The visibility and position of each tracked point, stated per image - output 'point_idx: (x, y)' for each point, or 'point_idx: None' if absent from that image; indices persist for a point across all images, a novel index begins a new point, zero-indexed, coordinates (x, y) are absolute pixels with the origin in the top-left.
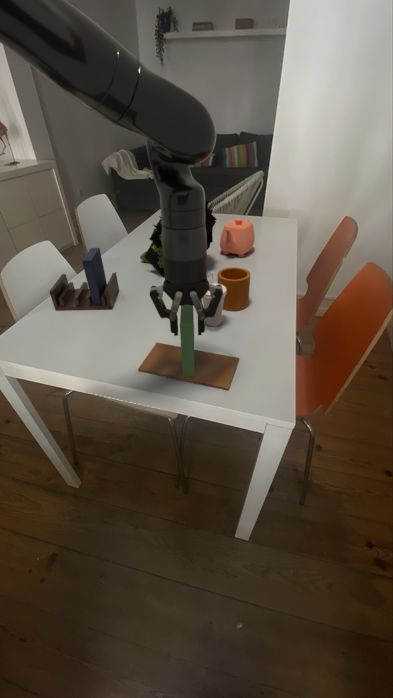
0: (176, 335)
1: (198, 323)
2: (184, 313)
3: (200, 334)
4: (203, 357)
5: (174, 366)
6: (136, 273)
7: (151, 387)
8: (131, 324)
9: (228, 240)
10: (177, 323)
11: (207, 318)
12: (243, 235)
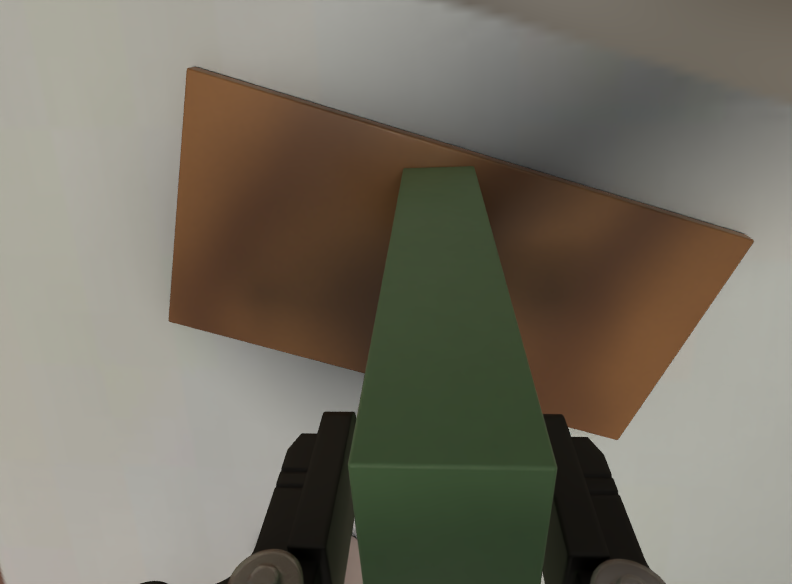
0: (543, 414)
1: (325, 515)
2: None
3: (330, 415)
4: (359, 326)
5: (525, 259)
6: None
7: (677, 88)
8: (733, 558)
9: None
10: None
11: (350, 572)
12: None
